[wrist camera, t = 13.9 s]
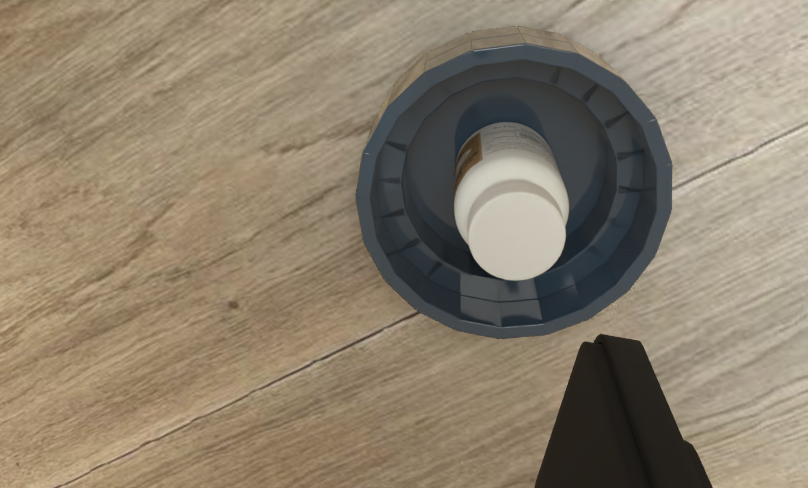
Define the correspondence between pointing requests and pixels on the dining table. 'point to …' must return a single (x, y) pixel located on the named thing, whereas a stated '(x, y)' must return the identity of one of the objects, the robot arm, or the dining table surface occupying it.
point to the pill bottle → (510, 201)
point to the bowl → (576, 160)
